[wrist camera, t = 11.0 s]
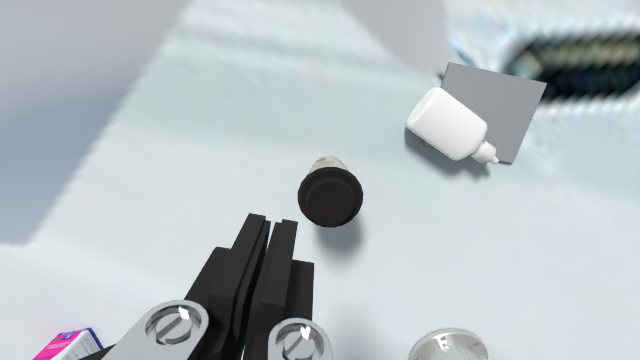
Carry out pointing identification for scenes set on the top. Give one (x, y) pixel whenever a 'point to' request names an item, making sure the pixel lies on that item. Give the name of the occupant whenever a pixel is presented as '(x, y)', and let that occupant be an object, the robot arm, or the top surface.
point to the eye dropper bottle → (451, 127)
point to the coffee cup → (330, 193)
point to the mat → (495, 104)
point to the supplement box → (71, 346)
